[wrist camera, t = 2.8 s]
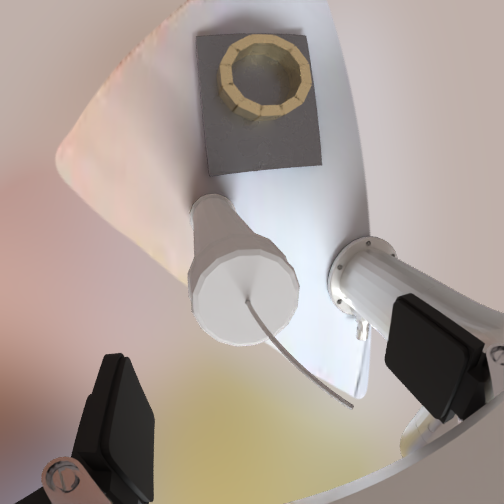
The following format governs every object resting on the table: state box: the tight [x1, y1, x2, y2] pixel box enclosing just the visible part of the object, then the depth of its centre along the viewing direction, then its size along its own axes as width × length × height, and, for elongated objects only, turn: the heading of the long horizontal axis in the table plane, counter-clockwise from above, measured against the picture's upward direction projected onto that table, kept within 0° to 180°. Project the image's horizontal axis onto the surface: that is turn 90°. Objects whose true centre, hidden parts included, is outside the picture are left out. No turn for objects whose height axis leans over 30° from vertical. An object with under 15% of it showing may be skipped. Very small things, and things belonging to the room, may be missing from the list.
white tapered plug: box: [188, 194, 354, 410], centre depth 22 cm, size 6×6×30 cm
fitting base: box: [196, 34, 322, 176], centre depth 31 cm, size 18×14×6 cm
